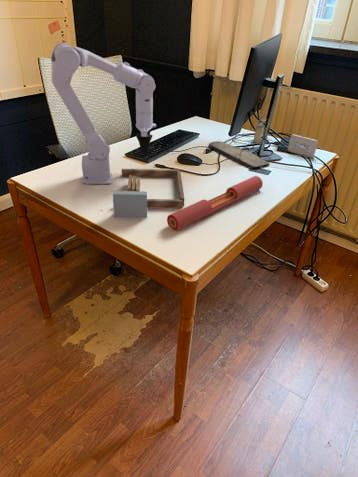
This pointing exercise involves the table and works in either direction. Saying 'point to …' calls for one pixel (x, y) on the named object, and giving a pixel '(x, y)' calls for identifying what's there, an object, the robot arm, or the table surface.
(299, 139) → the cassette
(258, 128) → the lighter
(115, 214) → the grey upright plank
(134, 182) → the offcut stack
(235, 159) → the stone slab
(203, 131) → the table surface
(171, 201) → the rack
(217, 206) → the blood vessel
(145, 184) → the table surface
